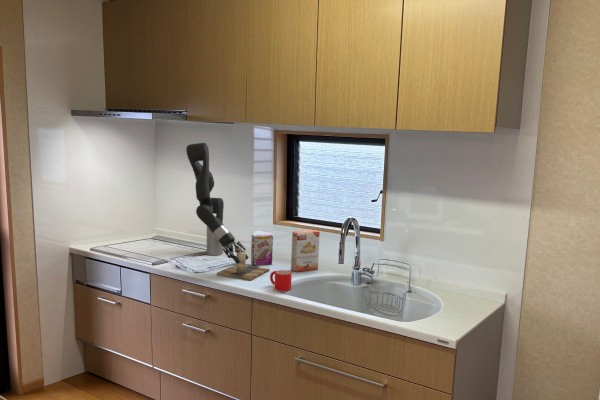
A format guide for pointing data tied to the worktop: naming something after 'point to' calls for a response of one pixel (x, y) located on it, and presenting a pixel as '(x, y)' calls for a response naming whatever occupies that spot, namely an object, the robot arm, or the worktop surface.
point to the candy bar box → (261, 249)
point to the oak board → (249, 273)
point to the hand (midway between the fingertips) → (243, 260)
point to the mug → (281, 280)
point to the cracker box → (305, 250)
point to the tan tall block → (241, 263)
